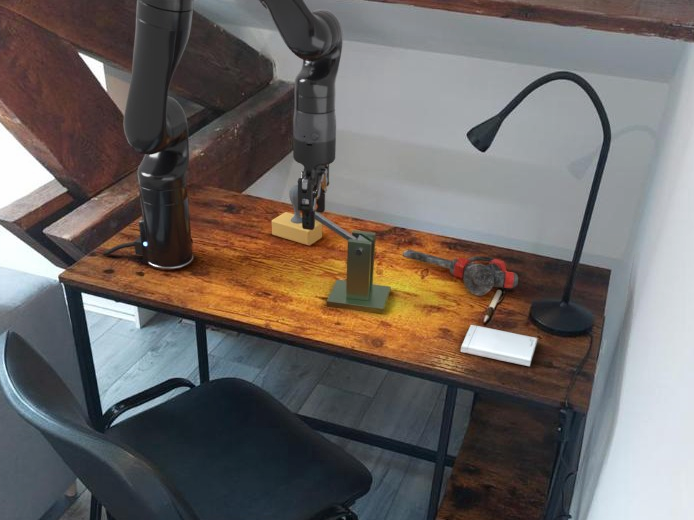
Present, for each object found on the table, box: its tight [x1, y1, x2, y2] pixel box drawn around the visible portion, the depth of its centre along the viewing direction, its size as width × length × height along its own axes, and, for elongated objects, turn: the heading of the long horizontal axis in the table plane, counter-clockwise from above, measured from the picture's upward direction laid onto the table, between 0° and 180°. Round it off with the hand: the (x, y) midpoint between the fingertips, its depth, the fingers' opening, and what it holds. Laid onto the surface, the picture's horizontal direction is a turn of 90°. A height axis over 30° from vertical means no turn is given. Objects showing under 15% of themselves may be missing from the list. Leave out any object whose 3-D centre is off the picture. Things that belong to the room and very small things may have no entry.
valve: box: [402, 249, 519, 296], centre depth 169 cm, size 6×26×15 cm
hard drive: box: [460, 324, 538, 367], centre depth 145 cm, size 2×8×12 cm
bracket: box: [326, 229, 392, 315], centre depth 154 cm, size 11×9×13 cm
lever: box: [315, 204, 370, 242], centre depth 151 cm, size 14×6×2 cm, turn 78°
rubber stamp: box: [271, 184, 323, 247], centre depth 177 cm, size 10×6×12 cm, turn 61°
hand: (313, 220), depth 151 cm, fingers open, 7 cm apart
